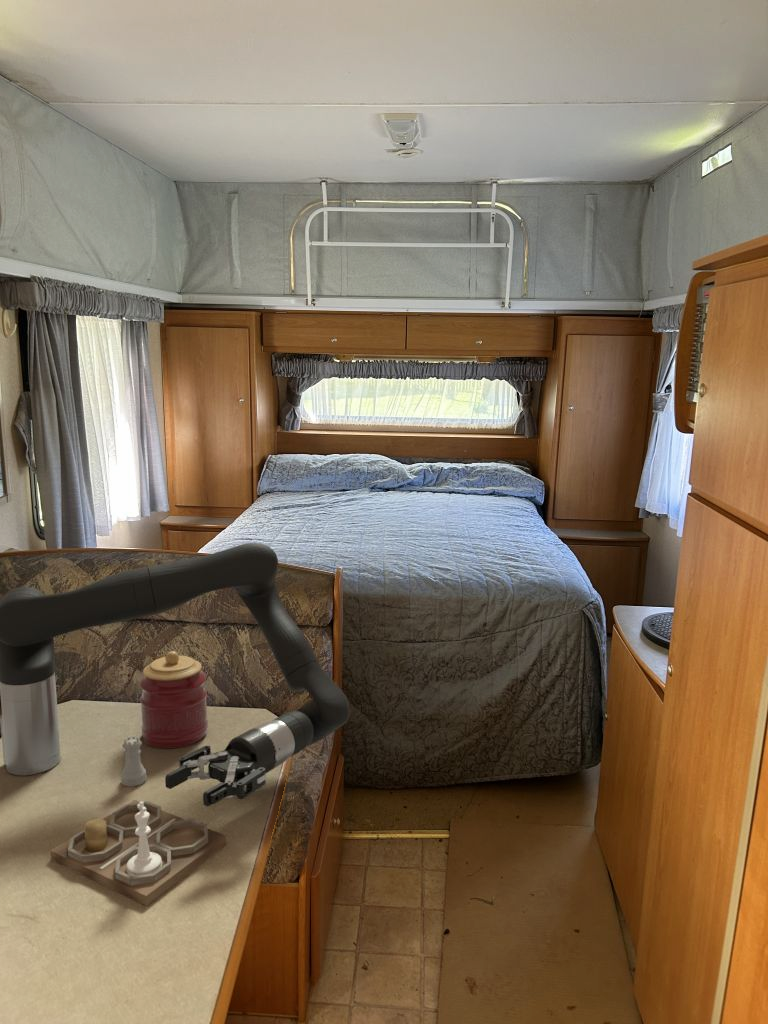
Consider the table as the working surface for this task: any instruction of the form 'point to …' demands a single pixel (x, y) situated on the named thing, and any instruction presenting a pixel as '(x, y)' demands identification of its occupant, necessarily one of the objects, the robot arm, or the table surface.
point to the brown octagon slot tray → (116, 843)
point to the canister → (173, 702)
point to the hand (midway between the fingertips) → (185, 791)
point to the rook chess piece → (133, 763)
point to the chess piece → (143, 848)
